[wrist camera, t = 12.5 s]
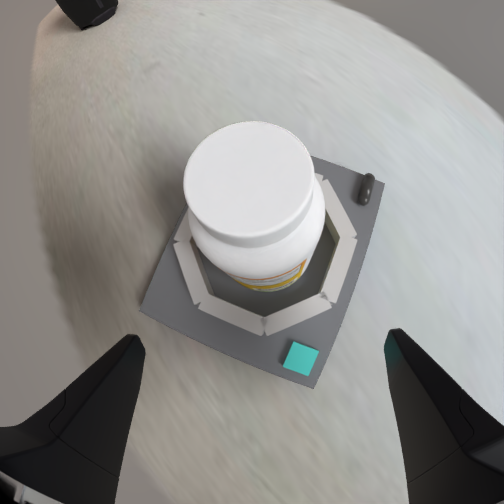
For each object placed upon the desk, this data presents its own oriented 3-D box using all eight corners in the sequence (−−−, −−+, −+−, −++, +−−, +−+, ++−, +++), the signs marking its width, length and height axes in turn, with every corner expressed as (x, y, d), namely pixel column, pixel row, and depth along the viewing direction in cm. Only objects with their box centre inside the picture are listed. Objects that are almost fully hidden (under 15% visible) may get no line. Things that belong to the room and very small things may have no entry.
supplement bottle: (256, 192, 19) (231, 84, 9) (327, 237, 17) (369, 152, 8) (205, 259, 18) (128, 198, 8) (277, 310, 17) (268, 303, 7)
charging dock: (312, 385, 16) (316, 395, 14) (145, 311, 19) (127, 310, 16) (380, 189, 19) (391, 173, 16) (226, 138, 21) (220, 119, 18)
